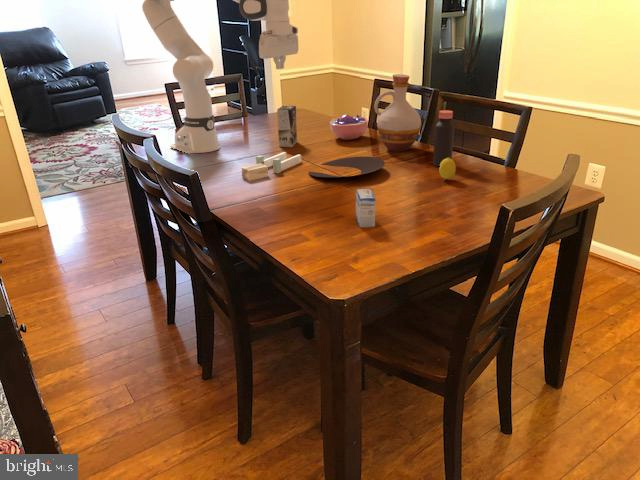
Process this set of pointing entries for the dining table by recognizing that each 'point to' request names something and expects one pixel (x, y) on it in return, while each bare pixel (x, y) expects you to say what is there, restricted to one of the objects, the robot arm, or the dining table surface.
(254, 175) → the maple block
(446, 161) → the lemon
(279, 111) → the coffee box
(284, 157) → the green-tipped fork clamp
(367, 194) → the medicine box
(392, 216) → the dining table surface
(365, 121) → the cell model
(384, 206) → the dining table surface
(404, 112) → the jug
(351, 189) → the dining table surface
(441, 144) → the bottle
